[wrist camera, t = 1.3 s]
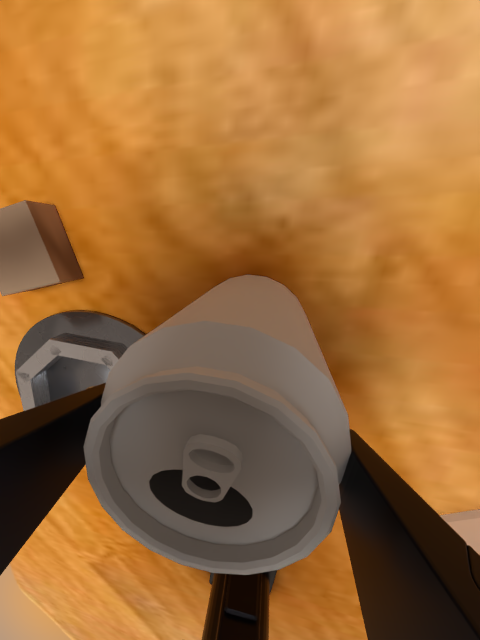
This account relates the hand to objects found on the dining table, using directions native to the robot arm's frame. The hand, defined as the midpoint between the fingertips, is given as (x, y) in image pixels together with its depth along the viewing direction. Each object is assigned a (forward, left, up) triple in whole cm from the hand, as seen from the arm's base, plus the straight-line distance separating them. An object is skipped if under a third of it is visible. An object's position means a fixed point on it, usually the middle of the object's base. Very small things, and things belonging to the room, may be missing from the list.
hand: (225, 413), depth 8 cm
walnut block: (+3, +16, -9) cm, 19 cm away
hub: (-9, +12, -9) cm, 17 cm away
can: (0, 0, -9) cm, 9 cm away
